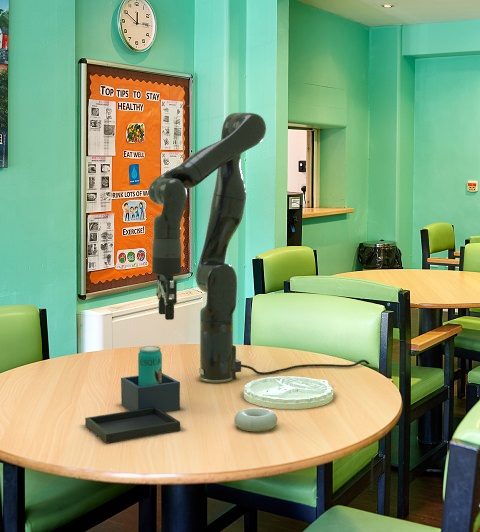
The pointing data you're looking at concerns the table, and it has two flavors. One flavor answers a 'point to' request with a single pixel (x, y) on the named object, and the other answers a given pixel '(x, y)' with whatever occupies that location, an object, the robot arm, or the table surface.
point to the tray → (131, 424)
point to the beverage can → (149, 366)
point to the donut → (255, 419)
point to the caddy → (150, 394)
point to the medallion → (288, 392)
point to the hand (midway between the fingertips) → (166, 316)
